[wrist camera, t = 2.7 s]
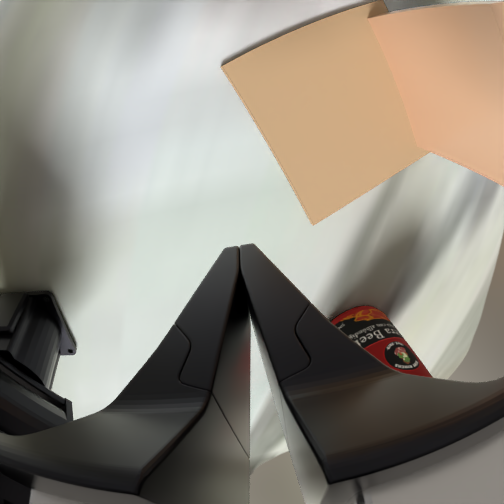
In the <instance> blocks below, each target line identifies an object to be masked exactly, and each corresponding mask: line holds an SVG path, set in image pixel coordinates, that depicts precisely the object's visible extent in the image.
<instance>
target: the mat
mask: <svg viewBox="0 0 504 504" xmlns="http://www.w3.org/2000/svg"><path fill="white" fill-rule="evenodd" d="M386 12H389V11H388V9H387V7H386V5H385V3H384V1H383V0H378V1H375V2H371V3H368V4H365V5H361V6H358V7H355V8H352V9H349V10H346V11H343V12H340V13H337V14H335V15H332V16H329V17H326V18H324V19H321V20H319V21H316V22H313V23H311V24H308V25H306V26H304V27H301V28H299V29H296V30H294V31H292V32H289V33H287V34H285V35H283V36H281V37H278V38H276V39H274V40H272V41H270V42H268V43H266V44H263V45H261V46H259V47H257V48H255V49H253V50H251V51H249V52H247V53H245V54H244V55H242V56H240V57H238V58H236V59H234V60H232V61H230V62H229V63H227V64H225V65H223V66H221V69H222V70H223V72H224V73H225V75H226V76H227V78H228V80H229V81H230V83H231V84H232V86H233V87H234V89H235V91H236V92H237V94H238V96H239V97H240V99H241V100H242V102H243V104H244V105H245V107H246V109H247V110H248V112H249V114H250V115H251V117H252V119H253V120H254V122H255V124H256V125H257V127H258V129H259V130H260V132H261V134H262V135H263V137H264V139H265V141H266V142H267V144H268V146H269V147H270V149H271V151H272V153H273V154H274V156H275V158H276V160H277V161H278V163H279V165H280V167H281V169H282V170H283V172H284V174H285V176H286V178H287V179H288V181H289V183H290V185H291V187H292V189H293V190H294V192H295V194H296V196H297V198H298V200H299V201H300V203H301V205H302V207H303V209H304V211H305V213H306V215H307V217H308V218H309V220H310V222H311V224H312V225H315V224H317V223H318V222H320V221H321V220H323V219H325V218H326V217H328V216H330V215H331V214H333V213H334V212H336V211H338V210H339V209H341V208H342V207H344V206H346V205H347V204H349V203H350V202H352V201H353V200H355V199H357V198H358V197H360V196H361V195H363V194H365V193H366V192H368V191H369V190H371V189H373V188H374V187H376V186H377V185H379V184H381V183H382V182H384V181H385V180H387V179H388V178H390V177H392V176H393V175H395V174H396V173H398V172H400V171H401V170H403V169H404V168H406V167H407V166H409V165H411V164H412V163H414V162H415V161H417V160H418V159H420V158H422V157H423V156H425V155H426V154H428V153H429V151H427V150H424V149H422V148H419V147H417V144H416V141H415V137H414V134H413V131H412V128H411V125H410V121H409V118H408V115H407V112H406V109H405V107H404V104H403V101H402V98H401V95H400V93H399V90H398V87H397V85H396V82H395V80H394V77H393V75H392V72H391V70H390V67H389V65H388V62H387V60H386V58H385V55H384V53H383V51H382V49H381V47H380V44H379V42H378V40H377V38H376V36H375V34H374V32H373V30H372V27H371V25H370V23H369V21H368V18H371V17H374V16H377V15H380V14H383V13H386Z"/></svg>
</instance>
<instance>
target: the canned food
mask: <svg viewBox="0 0 504 504" xmlns="http://www.w3.org/2000/svg"><path fill="white" fill-rule="evenodd" d="M331 323H332V324H334V325H335V326H336V327H337V328H338V329H340V330H341V331H342V332H343V333H344V334H346V335H347V336H348V337H350V338H351V339H352V340H353V341H355V342H356V343H357V344H359V345H360V346H361V347H362V348H364V349H365V350H366V351H368V352H369V353H370V354H372V355H373V356H374V357H375V358H377V359H378V360H379V361H381V362H382V363H383V364H385V365H386V366H388V367H390V368H392V369H394V370H396V371H398V372H401V373H405V374H410V375H417V376H424V377H431V378H433V377H432V376H431V374H430V373H429V371H428V370H427V369H426V367H425V366H424V365H423V363H422V362H421V361H420V359H419V358H418V357H417V355H416V354H415V352H414V351H413V350H412V349H411V347H410V346H409V345H408V343H407V342H406V341H405V339H404V338H403V337H402V335H401V334H400V333H399V331H398V330H397V329H396V328H395V326H394V325H393V324H392V322H391V321H390V320H389V319H388V317H387V316H386V315H385V314H384V313H383V312H382V311H380V310H378V309H377V308H375V307H372V306H360V307H355V308H353V309H350V310H347V311H346V312H344V313H342V314H340V315H339V316H337V317H336V318H335V319H333V320H332V321H331Z"/></svg>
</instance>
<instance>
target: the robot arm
mask: <svg viewBox="0 0 504 504" xmlns="http://www.w3.org/2000/svg"><path fill="white" fill-rule="evenodd" d="M46 297H48V298H49V299H47V298H46ZM250 316H251V321H252V325H253V328H254V332H255V336H256V339H257V343H258V346H259V350H260V353H261V357H262V360H263V364H264V367H265V371H266V374H267V378H268V381H269V385H270V388H271V392H272V395H273V398H274V402H275V405H276V409H277V412H278V415H279V419H280V422H281V426H282V429H283V432H284V436H285V439H286V442H287V446H288V449H289V452H290V455H291V459H292V462H293V466H294V469H295V472H296V475H297V478H298V481H299V485H300V488H301V491H302V495H303V498H304V501H305V504H504V377H502V378H499V379H497V380H493V381H489V382H479V383H474V382H461V381H453V380H445V379H438V378H431V377H424V376H417V375H410V374H405V373H401V372H398V371H396V370H394V369H392V368H390V367H388V366H386V365H385V364H383V363H382V362H381V361H379V360H378V359H377V358H375V357H374V356H373V355H372V354H370V353H369V352H368V351H366V350H365V349H364V348H362V347H361V346H360V345H359V344H357V343H356V342H355V341H353V340H352V339H351V338H350V337H348V336H347V335H346V334H344V333H343V332H342V331H341V330H340V329H338V328H337V327H336V326H335V325H334V324H332V323H331V322H330V321H329V320H328V319H327V318H326V317H325V316H324V315H323V314H322V313H321V312H320V311H319V310H318V309H317V308H316V307H315V306H314V305H313V304H311V302H310V301H309V300H308V299H307V298H306V297H305V296H304V295H303V294H302V293H301V292H300V291H299V290H298V289H297V287H296V286H295V285H294V284H293V283H292V282H291V281H290V280H289V279H288V278H287V277H286V276H285V275H284V274H283V273H282V272H281V271H280V270H279V269H278V268H277V267H276V266H275V265H274V264H273V263H272V262H271V261H270V260H269V259H268V258H267V257H266V256H265V255H264V253H263V252H262V251H261V250H260V249H259V248H258V247H257V246H256V245H255V244H253V243H251V244H245V245H241V246H240V248H239V247H238V246H233V247H227V248H225V249H224V250H223V251H222V253H221V254H220V256H219V257H218V259H217V260H216V261H215V263H214V264H213V266H212V267H211V269H210V270H209V272H208V273H207V275H206V276H205V278H204V279H203V281H202V282H201V284H200V285H199V287H198V288H197V290H196V291H195V293H194V294H193V296H192V297H191V299H190V300H189V302H188V303H187V305H186V306H185V308H184V309H183V311H182V312H181V314H180V315H179V317H178V318H177V320H176V321H175V325H173V326H172V327H171V329H170V330H169V332H168V333H167V335H166V336H165V338H164V339H163V340H162V342H161V343H160V345H159V346H158V348H157V349H156V350H155V351H154V353H153V354H152V355H151V357H150V358H149V359H148V360H147V362H146V363H145V364H144V365H143V366H142V368H141V369H140V370H139V371H138V373H137V374H136V375H135V376H134V377H133V379H132V380H131V381H130V382H129V383H128V385H127V386H126V387H125V388H124V389H123V391H122V392H121V393H120V394H119V395H118V397H117V398H116V399H115V400H114V401H113V402H112V403H111V404H110V405H108V406H107V407H106V408H104V409H102V410H101V411H99V412H96V413H94V414H91V415H88V416H86V417H83V418H80V419H77V420H74V421H73V411H72V402H71V401H70V400H68V399H66V398H62V397H61V396H59V395H57V394H56V393H54V392H53V391H51V389H52V385H53V381H54V376H55V372H56V369H57V365H58V361H59V357H60V355H74V354H75V353H76V350H77V348H76V346H75V344H74V342H73V340H72V338H71V336H70V333H69V331H68V329H67V327H66V325H65V322H64V320H63V318H62V316H61V313H60V311H59V309H58V306H57V304H56V301H55V299H54V296H53V295H52V293H51V292H49V291H37V292H17V293H5V294H1V295H0V504H249V488H250V486H249V483H250V482H249V481H250V480H249V479H250V460H249V458H250V340H251V322H250Z"/></svg>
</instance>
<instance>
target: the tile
mask: <svg viewBox="0 0 504 504" xmlns="http://www.w3.org/2000/svg"><path fill="white" fill-rule="evenodd" d="M368 21H369V23H370V25H371V27H372V30H373V32H374V34H375V36H376V38H377V40H378V42H379V44H380V47H381V49H382V51H383V53H384V55H385V58H386V60H387V62H388V65H389V67H390V70H391V72H392V75H393V77H394V80H395V82H396V85H397V87H398V90H399V93H400V95H401V98H402V101H403V104H404V107H405V109H406V112H407V115H408V118H409V121H410V125H411V128H412V131H413V134H414V137H415V141H416V144H417V147H419V148H422V149H424V150H427V151H429V152H432V153H434V154H437V155H439V156H441V157H444V158H446V159H448V160H450V161H453V162H455V163H457V164H459V165H461V166H464V167H466V168H468V169H470V170H472V171H474V172H476V173H478V174H480V175H482V176H484V177H486V178H488V179H490V180H492V181H494V182H496V183H498V184H500V185H502V186H504V1H467V2H453V3H443V4H434V5H426V6H419V7H413V8H407V9H401V10H395V11H390V12H386V13H383V14H380V15H377V16H374V17H371V18H368Z"/></svg>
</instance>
